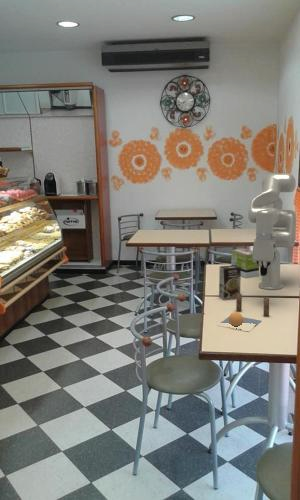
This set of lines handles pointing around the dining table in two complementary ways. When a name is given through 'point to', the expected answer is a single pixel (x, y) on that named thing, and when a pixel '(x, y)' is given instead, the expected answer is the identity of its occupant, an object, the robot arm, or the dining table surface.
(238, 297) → the post
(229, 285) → the coffee box
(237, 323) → the ball
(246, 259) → the tea box
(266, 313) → the post
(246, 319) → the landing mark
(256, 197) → the robot arm
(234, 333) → the dining table surface
